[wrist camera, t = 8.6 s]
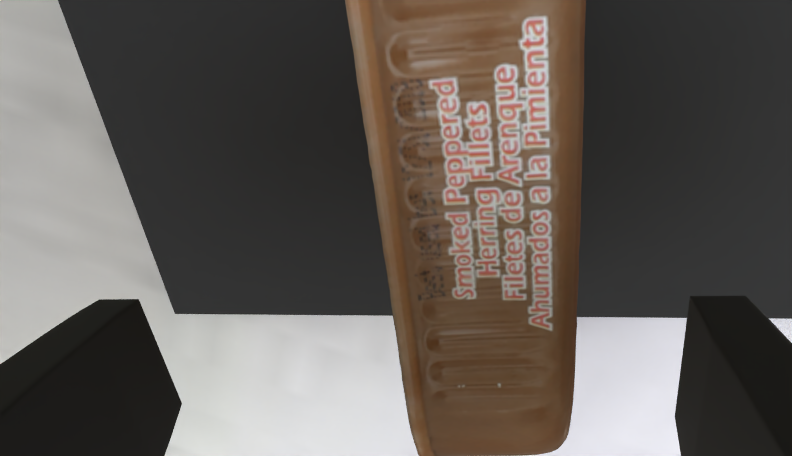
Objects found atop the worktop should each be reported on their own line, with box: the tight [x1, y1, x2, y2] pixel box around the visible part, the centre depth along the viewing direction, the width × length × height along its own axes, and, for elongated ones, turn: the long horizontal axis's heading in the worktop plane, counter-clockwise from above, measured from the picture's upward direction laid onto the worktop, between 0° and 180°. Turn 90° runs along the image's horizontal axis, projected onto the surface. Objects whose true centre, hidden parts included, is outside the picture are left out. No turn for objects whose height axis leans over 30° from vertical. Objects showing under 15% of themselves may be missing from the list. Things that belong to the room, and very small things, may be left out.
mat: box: [58, 0, 792, 318], centre depth 16 cm, size 20×16×1 cm
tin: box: [345, 0, 586, 456], centre depth 12 cm, size 15×3×8 cm, turn 7°
